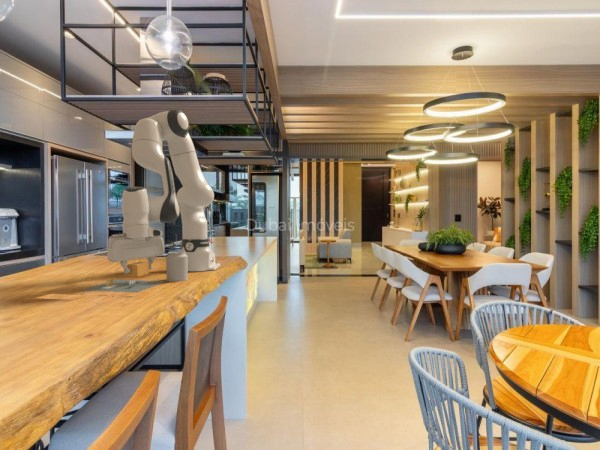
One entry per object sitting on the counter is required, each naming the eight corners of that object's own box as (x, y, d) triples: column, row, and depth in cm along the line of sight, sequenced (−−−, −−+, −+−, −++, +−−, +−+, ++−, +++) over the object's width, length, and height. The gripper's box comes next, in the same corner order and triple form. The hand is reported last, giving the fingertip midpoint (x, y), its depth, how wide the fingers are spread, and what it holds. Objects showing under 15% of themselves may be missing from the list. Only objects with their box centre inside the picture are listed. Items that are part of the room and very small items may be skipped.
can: (184, 285, 140) (183, 252, 139) (163, 285, 140) (163, 252, 140) (190, 281, 147) (190, 250, 147) (170, 281, 148) (170, 250, 147)
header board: (117, 283, 144) (117, 272, 144) (167, 285, 141) (167, 274, 140) (80, 294, 125) (80, 282, 125) (137, 297, 122) (136, 284, 122)
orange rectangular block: (139, 273, 141) (138, 262, 141) (149, 273, 140) (148, 262, 140) (127, 275, 136) (126, 264, 135) (137, 276, 134) (137, 265, 134)
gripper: (113, 235, 127) (114, 277, 127) (166, 231, 144) (167, 268, 144) (102, 234, 130) (104, 275, 131) (156, 230, 147) (157, 266, 148)
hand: (138, 271), depth 138 cm, fingers closed on orange rectangular block, 7 cm apart
